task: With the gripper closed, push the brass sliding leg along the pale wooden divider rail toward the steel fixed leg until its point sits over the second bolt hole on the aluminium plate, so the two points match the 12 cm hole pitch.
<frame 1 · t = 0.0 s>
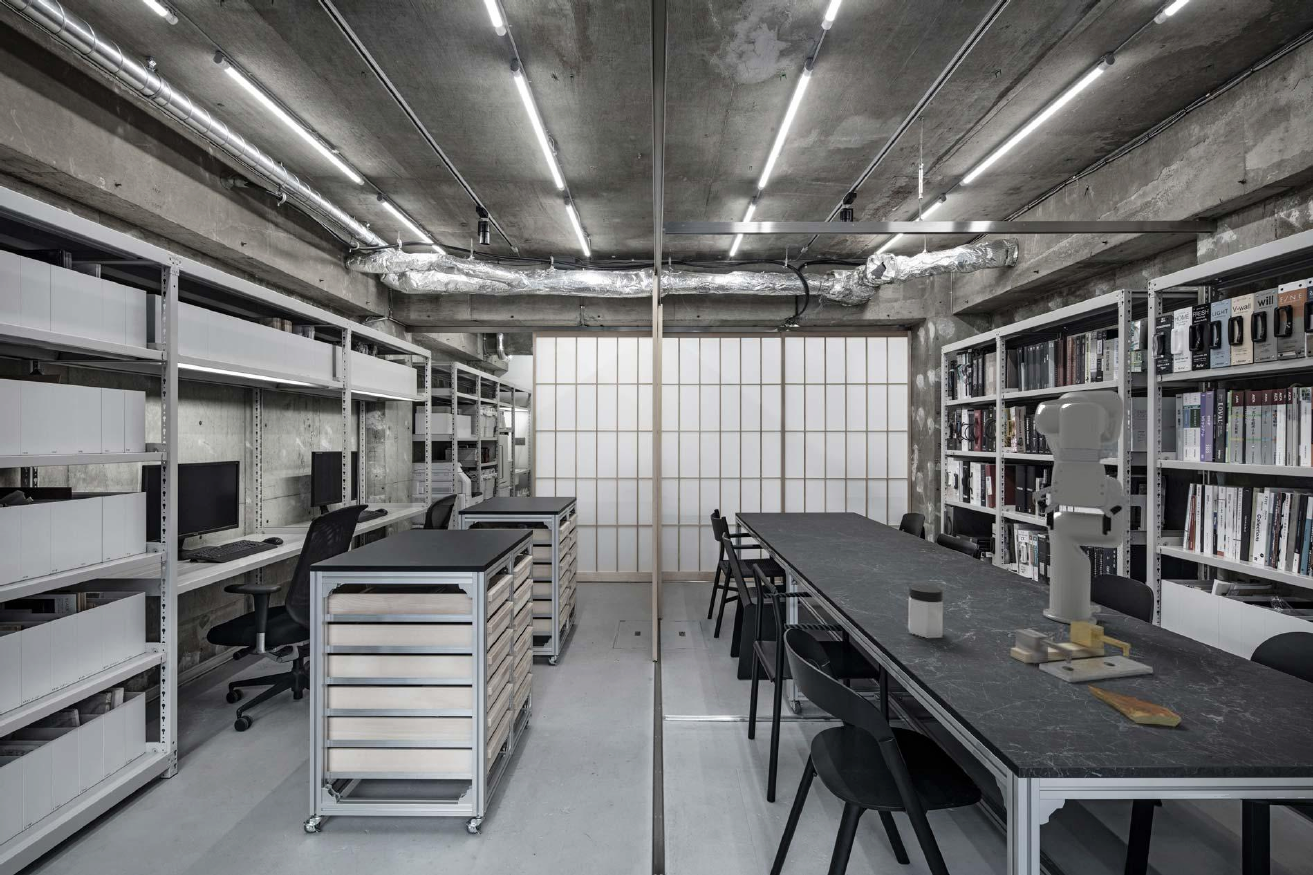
hand: (1077, 531, 126), 31 cm above the table, fingers open, 9 cm apart
bolt plate: (1095, 670, 125), on the table
sliding leg: (1101, 639, 132), point 5 cm above the table, slide at -5.0 cm
divider rail: (1057, 655, 133), on the table
shard: (1128, 714, 106), on the table
jar: (924, 633, 147), on the table
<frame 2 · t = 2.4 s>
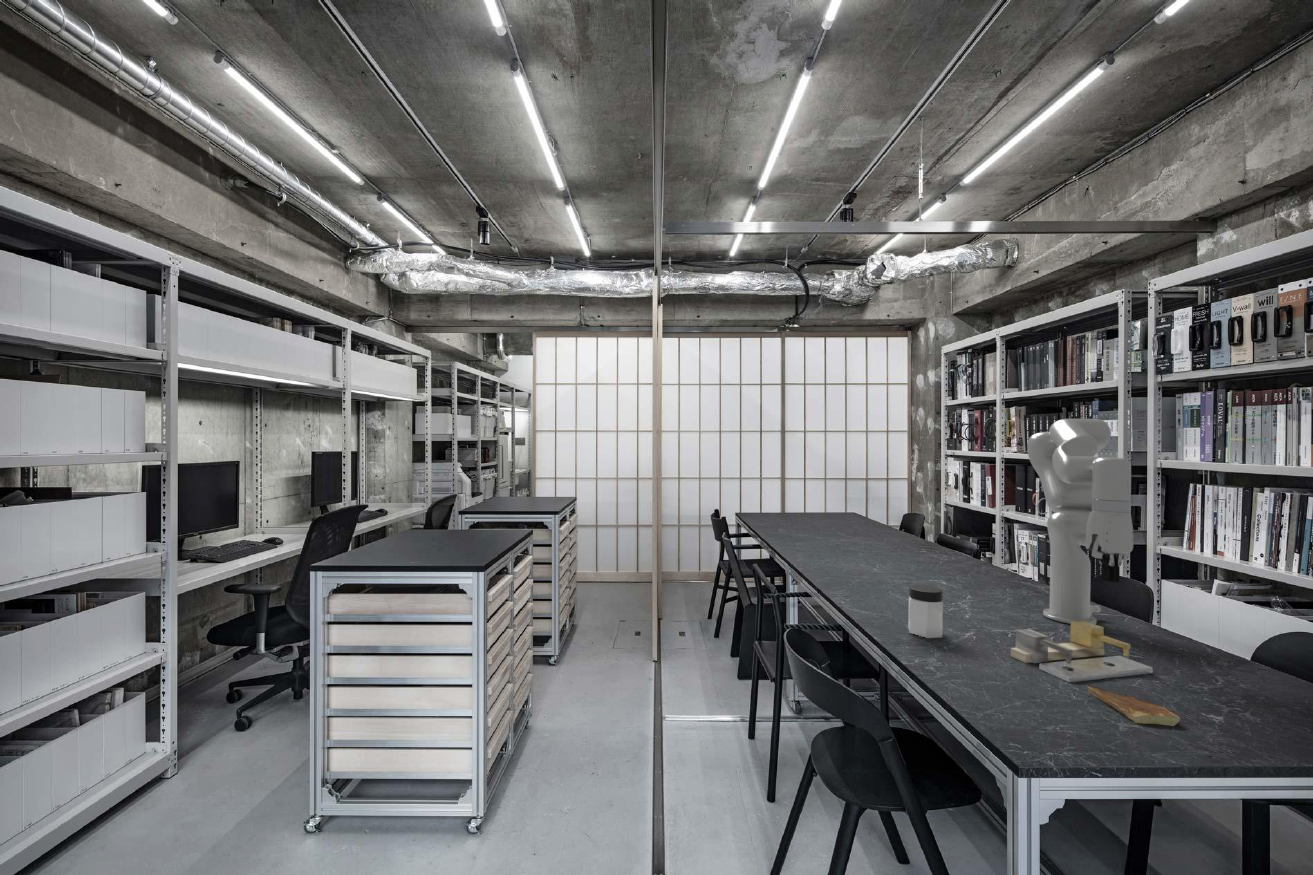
hand: (1110, 580, 137), 18 cm above the table, fingers closed
nothing on the table moved.
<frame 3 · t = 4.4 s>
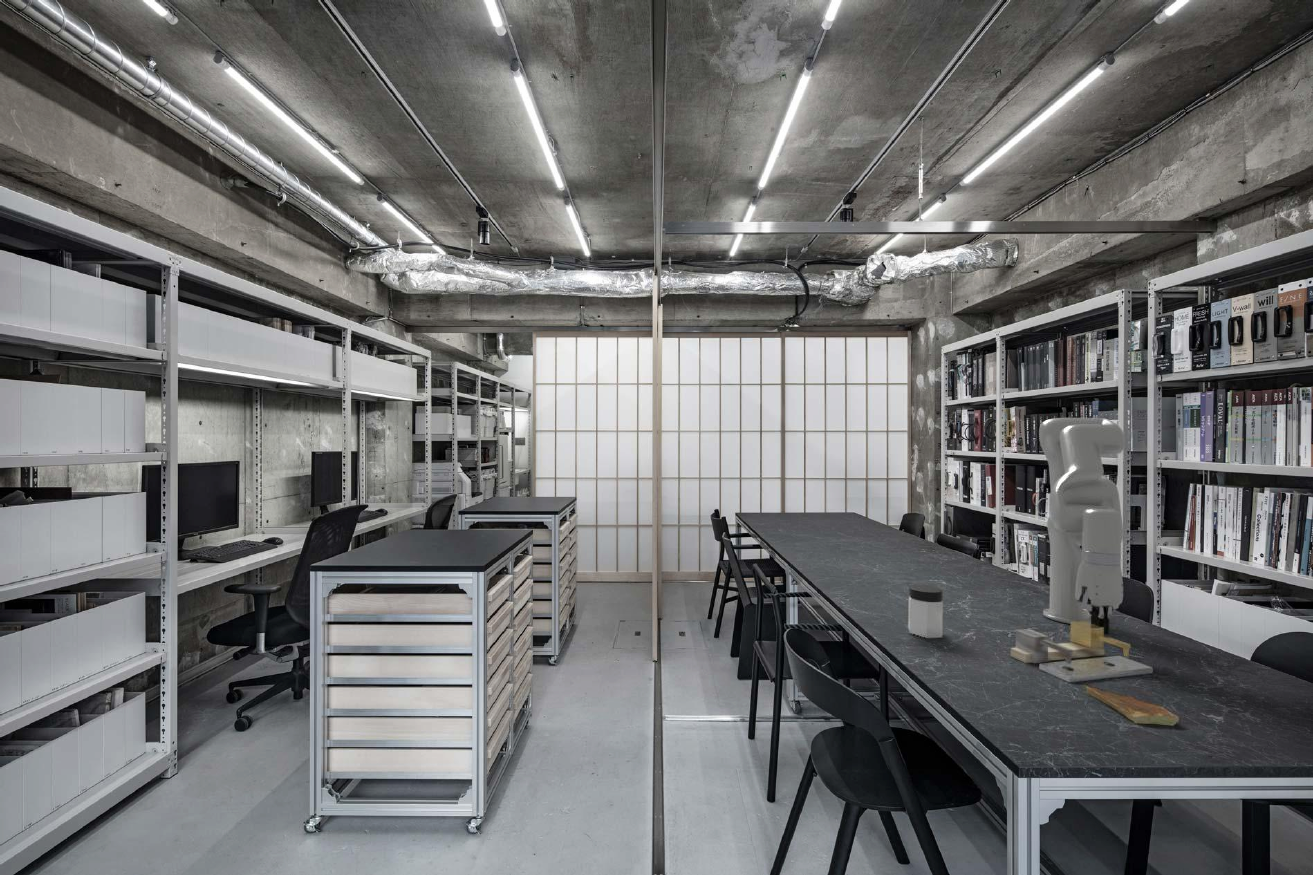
hand: (1099, 632, 136), 5 cm above the table, fingers closed
sliding leg: (1101, 639, 132), point 5 cm above the table, slide at -5.0 cm, touching gripper
everything else where it was.
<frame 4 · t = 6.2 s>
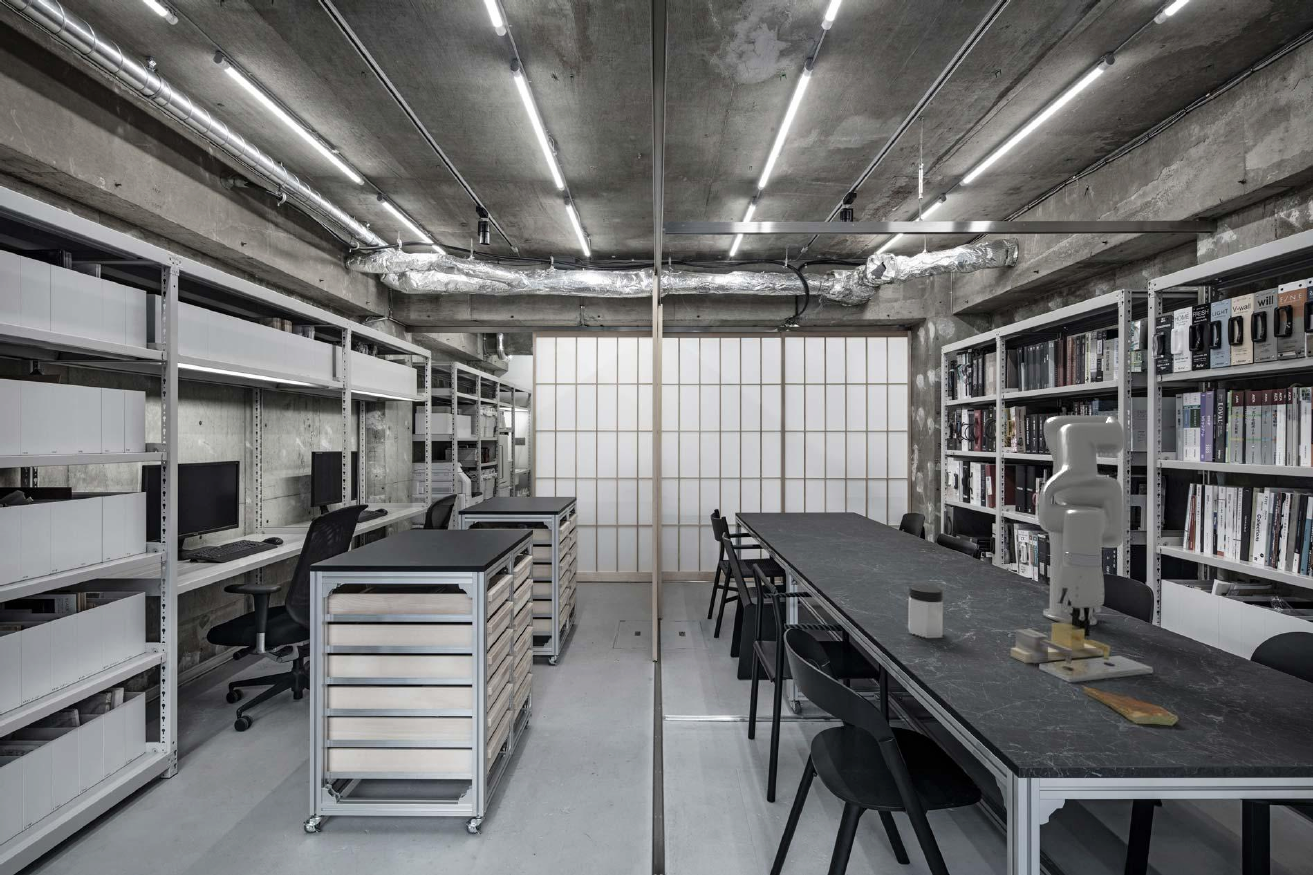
hand: (1080, 634, 135), 5 cm above the table, fingers closed
sliding leg: (1082, 640, 131), point 5 cm above the table, slide at 1.0 cm, touching gripper
everything else where it was.
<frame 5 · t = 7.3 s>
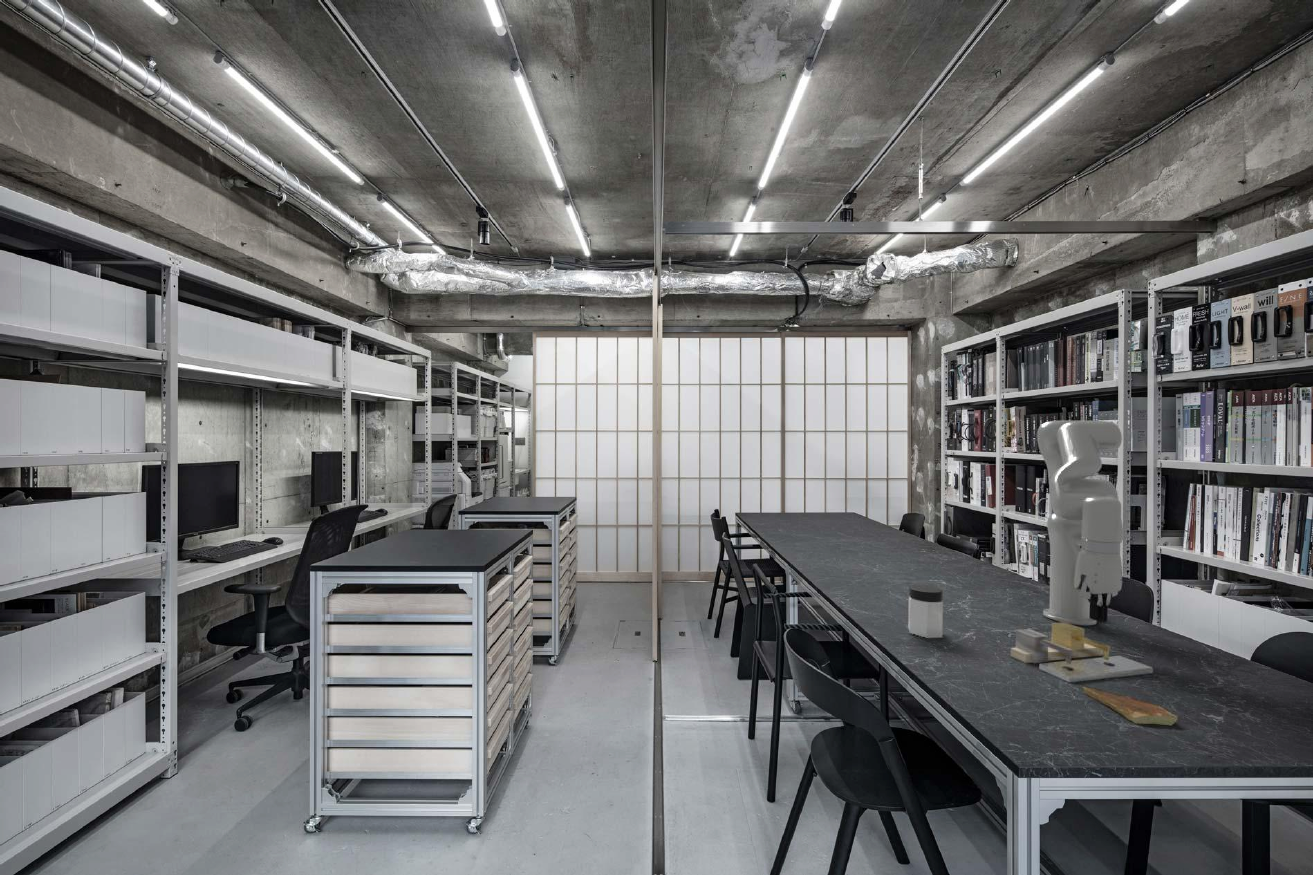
hand: (1098, 619, 138), 8 cm above the table, fingers closed
sliding leg: (1082, 640, 131), point 5 cm above the table, slide at 1.0 cm
everything else where it was.
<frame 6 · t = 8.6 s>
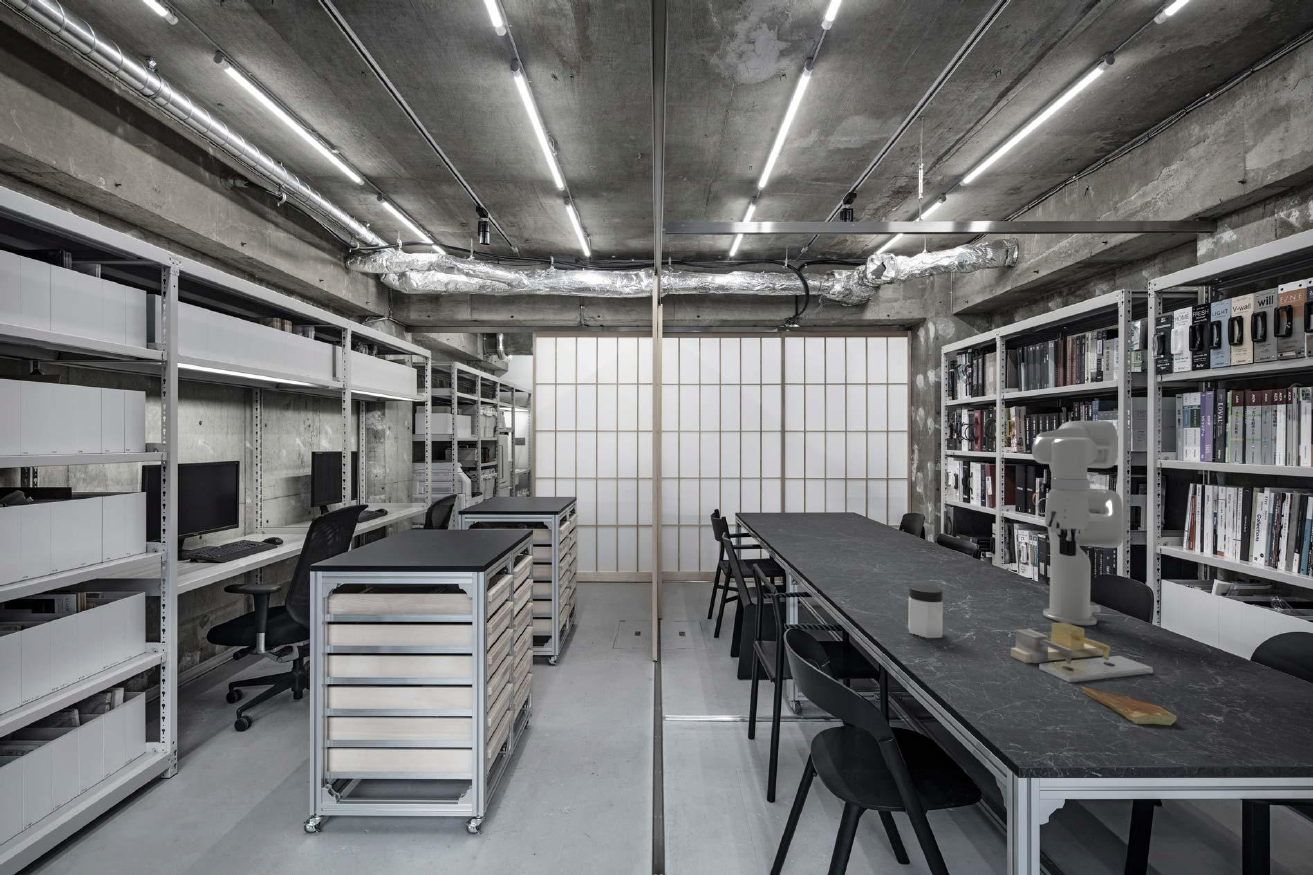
hand: (1067, 554, 145), 22 cm above the table, fingers closed
nothing on the table moved.
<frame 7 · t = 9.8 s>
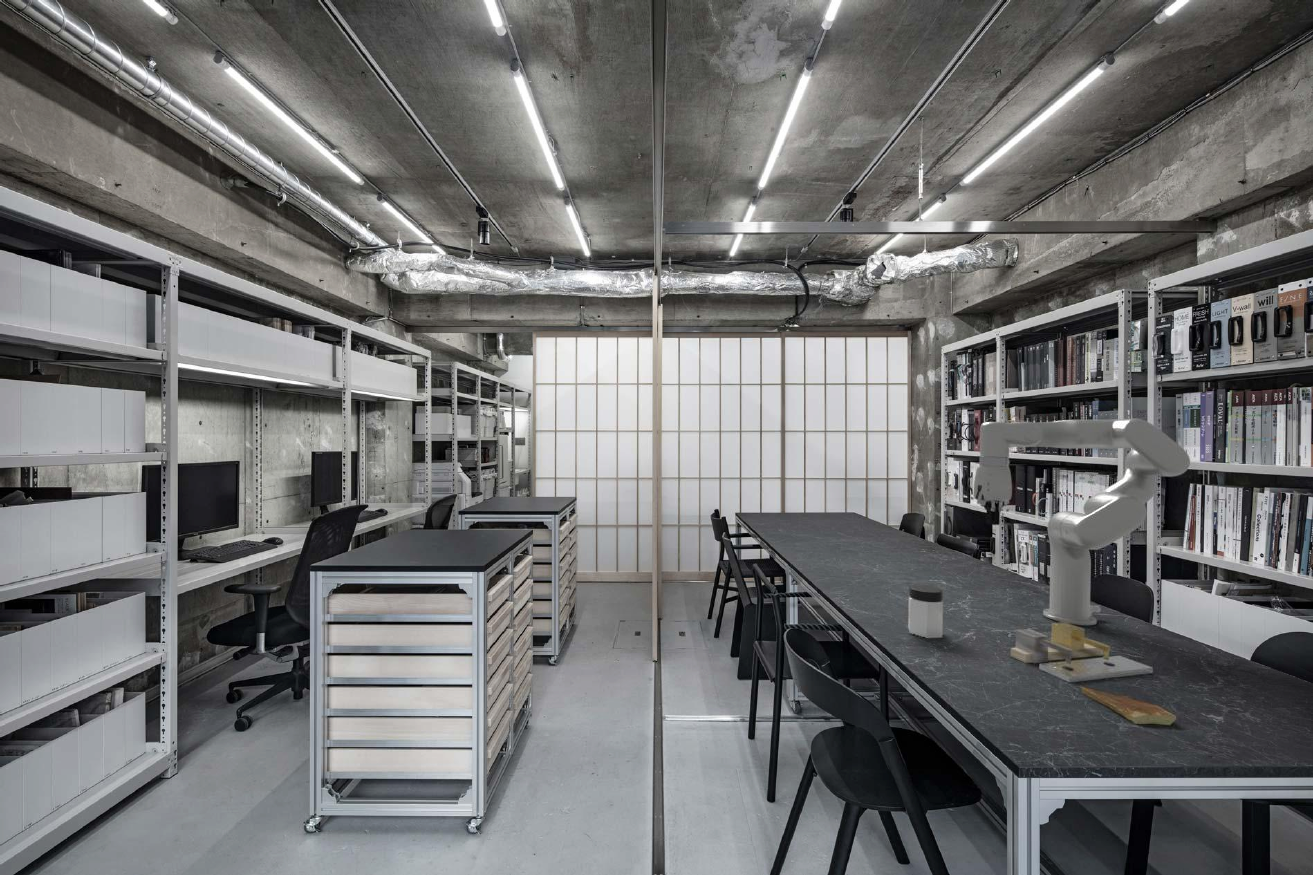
hand: (992, 524, 165), 27 cm above the table, fingers closed
nothing on the table moved.
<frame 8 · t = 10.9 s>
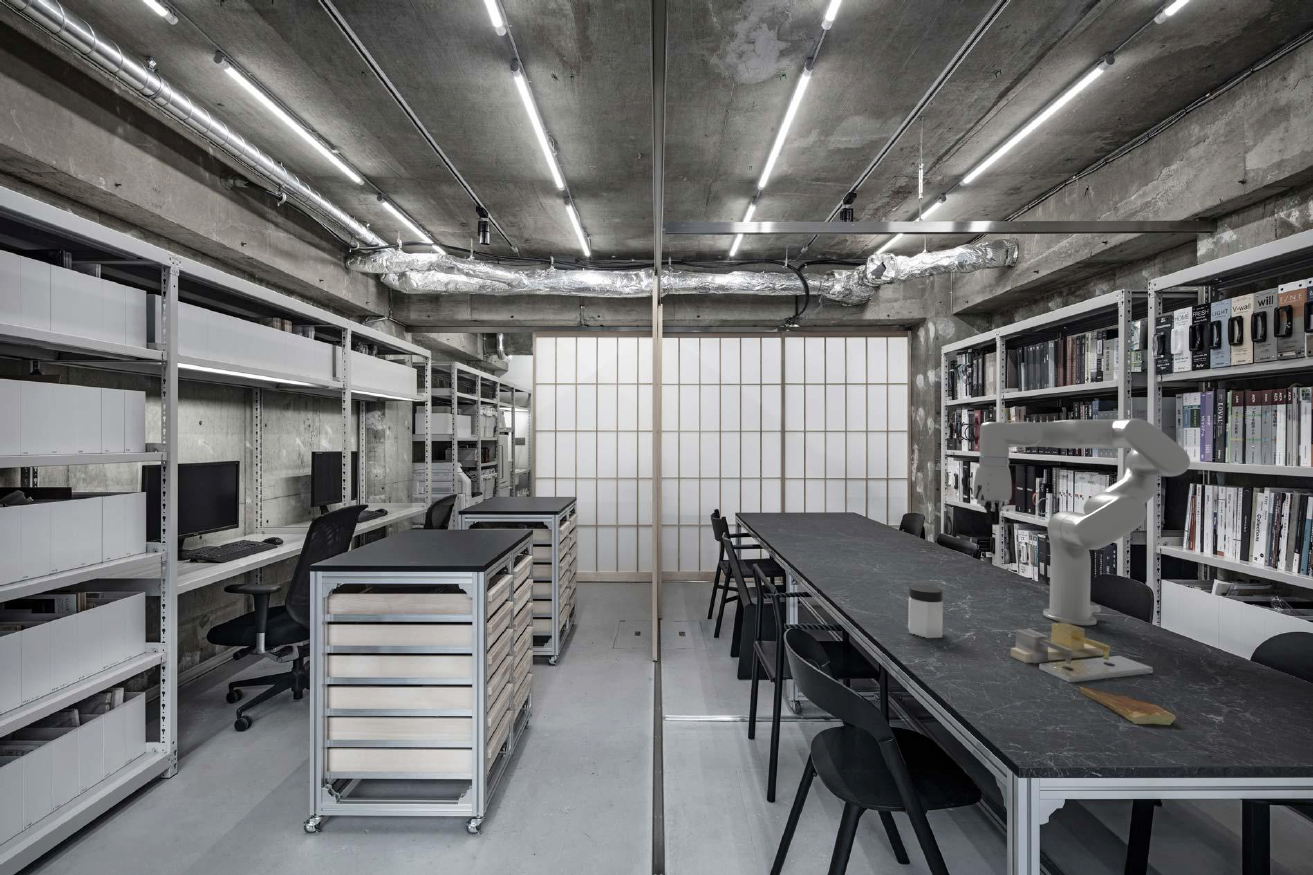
hand: (992, 524, 165), 27 cm above the table, fingers closed
at the end: sliding leg slide at 1.0 cm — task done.
